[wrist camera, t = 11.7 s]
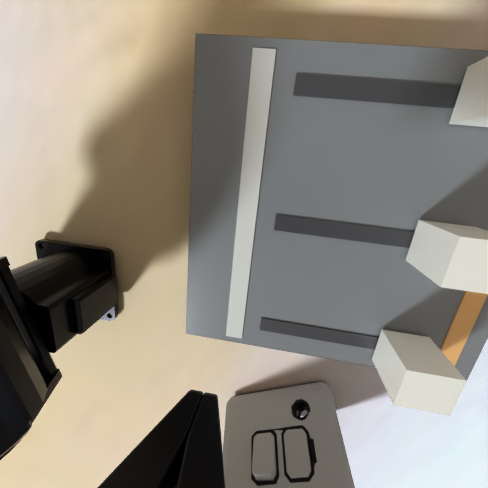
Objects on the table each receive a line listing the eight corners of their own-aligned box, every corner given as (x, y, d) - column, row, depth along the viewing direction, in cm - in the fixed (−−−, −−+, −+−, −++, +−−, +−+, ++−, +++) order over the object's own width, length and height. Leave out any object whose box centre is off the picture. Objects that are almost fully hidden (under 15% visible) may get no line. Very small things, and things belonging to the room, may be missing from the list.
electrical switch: (328, 376, 21) (366, 537, 13) (342, 416, 23) (382, 580, 14) (226, 393, 23) (200, 540, 15) (246, 428, 25) (232, 578, 17)
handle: (372, 359, 18) (393, 404, 14) (381, 329, 17) (406, 370, 13) (417, 367, 17) (449, 415, 14) (429, 337, 16) (466, 380, 13)
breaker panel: (194, 318, 21) (185, 334, 19) (206, 49, 15) (195, 32, 13) (447, 361, 19) (466, 384, 17) (576, 73, 13) (627, 58, 11)
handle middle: (405, 260, 15) (440, 287, 12) (418, 219, 14) (460, 236, 11) (458, 267, 15) (509, 297, 12) (475, 226, 14) (534, 246, 11)
